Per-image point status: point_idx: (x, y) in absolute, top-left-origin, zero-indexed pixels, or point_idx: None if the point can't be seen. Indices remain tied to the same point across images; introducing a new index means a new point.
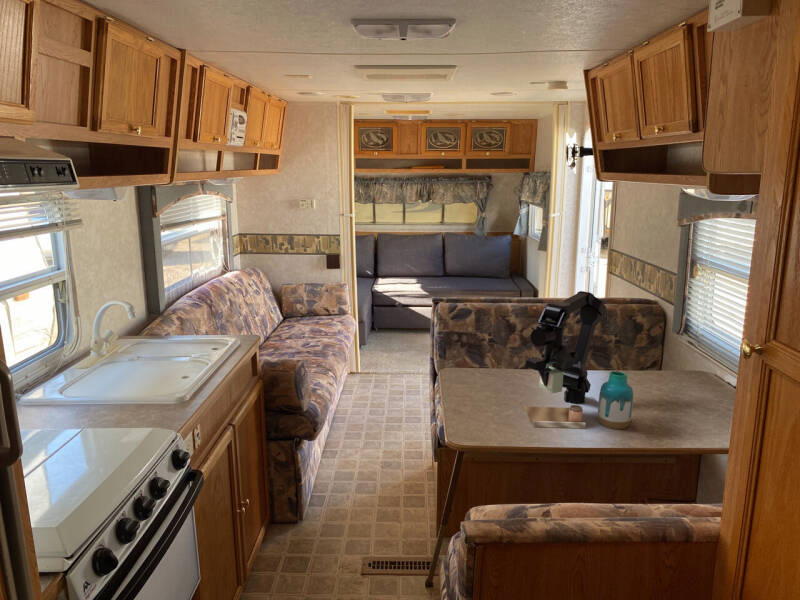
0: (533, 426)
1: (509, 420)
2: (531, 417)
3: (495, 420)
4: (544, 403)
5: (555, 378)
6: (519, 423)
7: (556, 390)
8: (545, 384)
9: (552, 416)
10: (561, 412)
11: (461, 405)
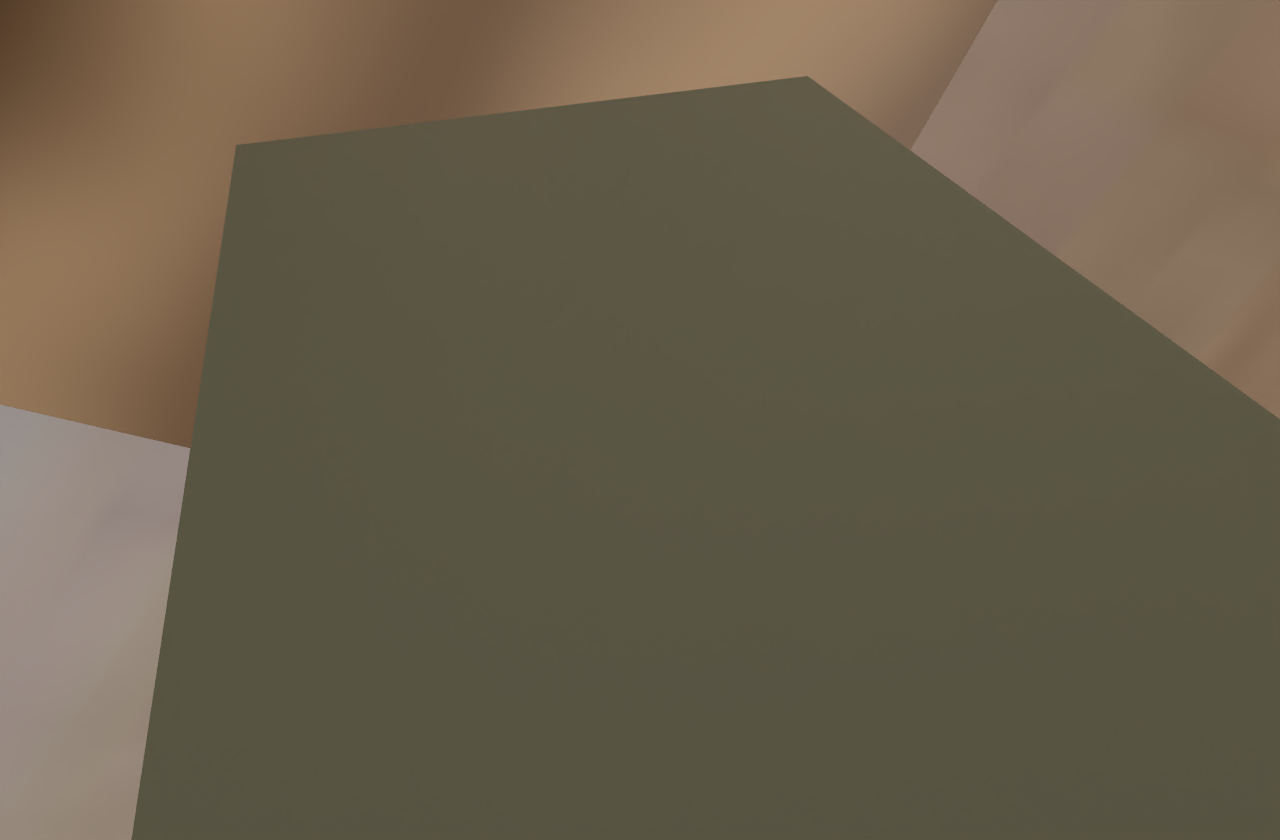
0: None
1: (1097, 246)
2: (876, 119)
3: (1249, 300)
4: (142, 691)
5: (1209, 516)
6: (1057, 94)
7: (631, 133)
8: None
9: (432, 18)
10: (81, 151)
11: None
